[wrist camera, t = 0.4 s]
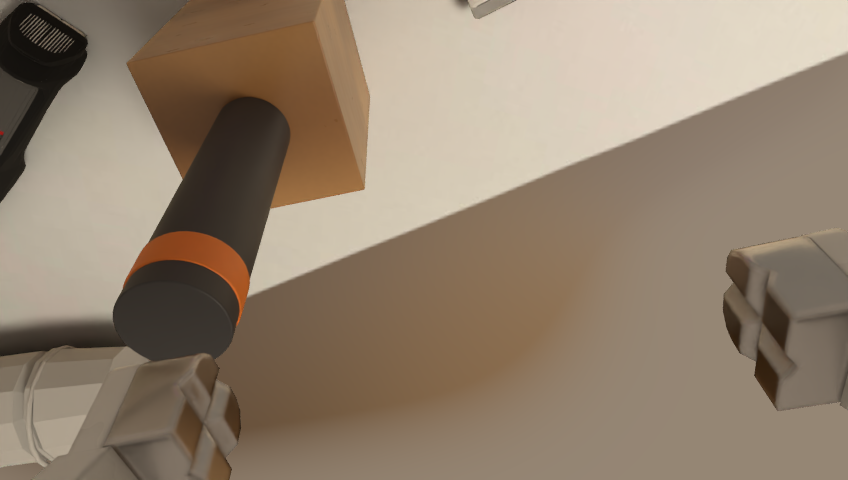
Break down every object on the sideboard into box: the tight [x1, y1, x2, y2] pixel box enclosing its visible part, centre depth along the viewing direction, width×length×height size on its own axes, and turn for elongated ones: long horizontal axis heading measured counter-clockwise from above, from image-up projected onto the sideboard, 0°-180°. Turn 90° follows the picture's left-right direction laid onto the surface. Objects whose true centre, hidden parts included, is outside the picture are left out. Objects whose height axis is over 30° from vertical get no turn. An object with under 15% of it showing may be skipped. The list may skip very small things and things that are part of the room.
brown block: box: [127, 0, 370, 208], centre depth 28 cm, size 7×7×10 cm
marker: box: [113, 97, 290, 361], centre depth 20 cm, size 3×3×11 cm
